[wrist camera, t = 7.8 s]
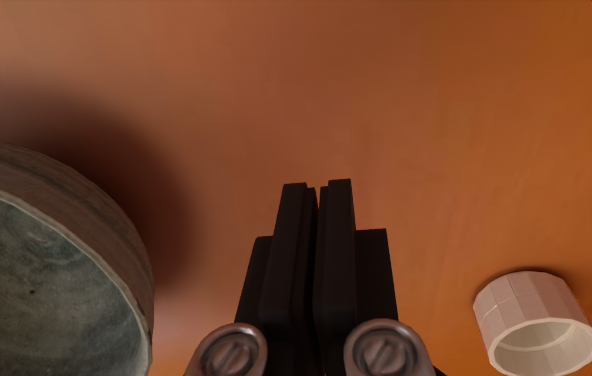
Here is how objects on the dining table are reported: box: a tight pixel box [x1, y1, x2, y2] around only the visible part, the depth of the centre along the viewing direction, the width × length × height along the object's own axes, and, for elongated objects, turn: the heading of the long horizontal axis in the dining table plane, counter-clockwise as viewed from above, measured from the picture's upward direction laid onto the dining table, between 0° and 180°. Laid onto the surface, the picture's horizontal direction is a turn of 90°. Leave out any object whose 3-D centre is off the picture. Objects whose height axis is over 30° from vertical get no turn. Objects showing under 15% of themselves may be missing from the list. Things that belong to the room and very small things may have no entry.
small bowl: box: [473, 271, 592, 376], centre depth 29 cm, size 7×7×4 cm
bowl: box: [0, 143, 155, 376], centre depth 27 cm, size 21×21×10 cm
